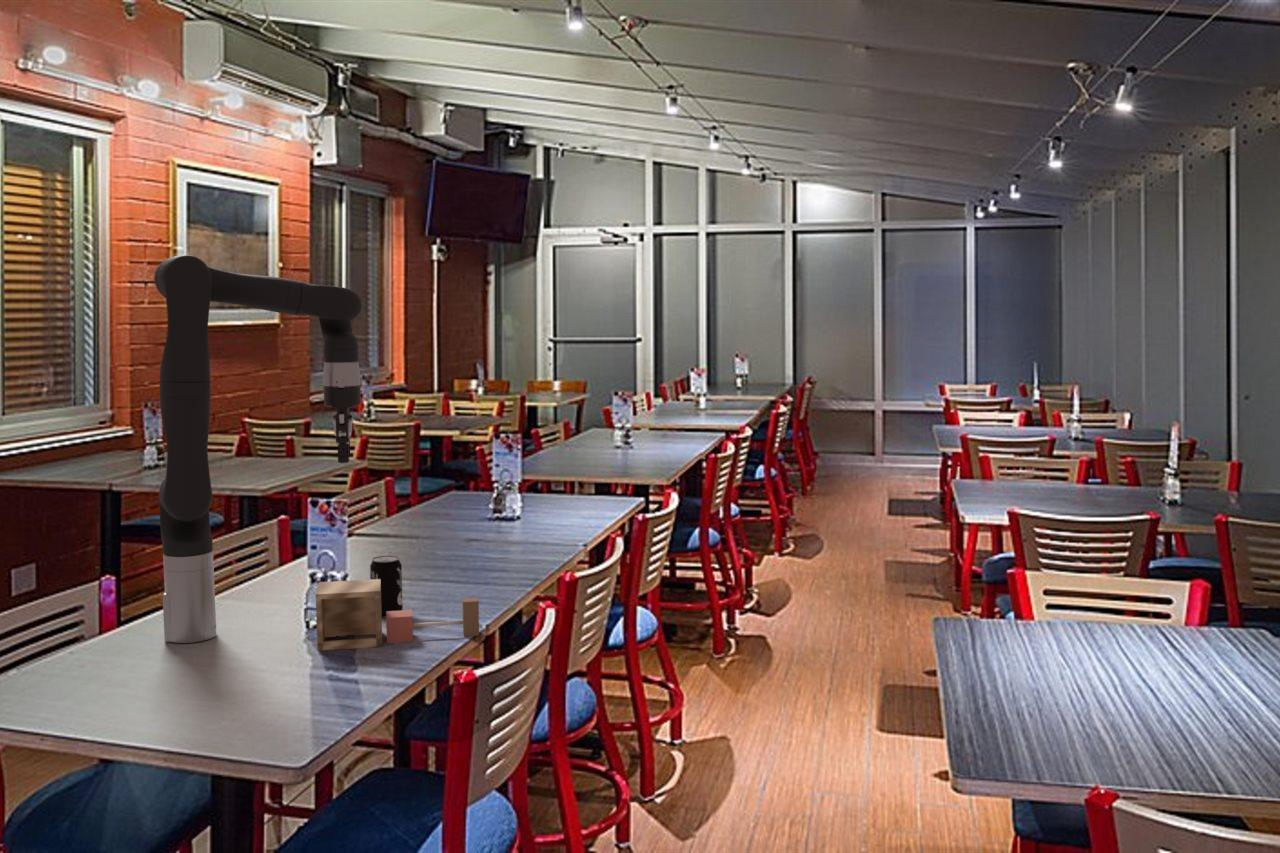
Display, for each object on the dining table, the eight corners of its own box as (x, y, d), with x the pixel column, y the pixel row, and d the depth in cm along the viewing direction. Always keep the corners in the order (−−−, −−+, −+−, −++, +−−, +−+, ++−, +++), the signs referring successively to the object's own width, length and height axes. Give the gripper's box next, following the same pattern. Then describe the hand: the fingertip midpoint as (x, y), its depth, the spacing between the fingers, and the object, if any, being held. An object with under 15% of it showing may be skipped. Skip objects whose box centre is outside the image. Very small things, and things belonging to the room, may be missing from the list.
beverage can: (395, 618, 246) (393, 562, 244) (366, 616, 247) (364, 560, 246) (407, 610, 252) (406, 555, 251) (379, 608, 253) (377, 554, 252)
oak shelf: (317, 650, 222) (315, 594, 221) (320, 636, 232) (318, 582, 231) (381, 646, 225) (380, 590, 224) (382, 632, 235) (380, 579, 233)
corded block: (386, 642, 228) (386, 607, 227) (386, 635, 232) (386, 601, 232) (479, 636, 231) (478, 602, 231) (477, 630, 236) (476, 596, 235)
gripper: (325, 381, 251) (327, 456, 252) (321, 386, 237) (324, 465, 238) (361, 381, 252) (363, 455, 254) (359, 385, 238) (361, 463, 240)
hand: (344, 459), depth 246 cm, fingers open, 8 cm apart
